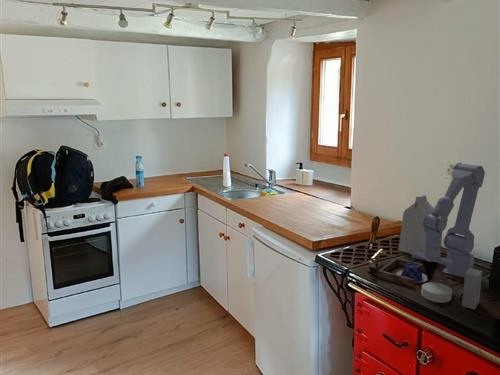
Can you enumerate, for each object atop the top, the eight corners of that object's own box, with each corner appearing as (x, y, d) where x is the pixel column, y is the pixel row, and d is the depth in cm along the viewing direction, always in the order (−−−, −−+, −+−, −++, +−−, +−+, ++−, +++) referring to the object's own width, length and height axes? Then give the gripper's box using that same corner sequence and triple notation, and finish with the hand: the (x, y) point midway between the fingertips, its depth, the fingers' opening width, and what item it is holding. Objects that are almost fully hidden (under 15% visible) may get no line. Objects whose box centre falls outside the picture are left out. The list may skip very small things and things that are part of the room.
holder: (429, 272, 174) (429, 265, 174) (412, 287, 161) (413, 280, 160) (395, 263, 183) (396, 257, 183) (377, 277, 170) (377, 270, 169)
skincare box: (465, 299, 151) (469, 267, 149) (479, 303, 148) (483, 270, 146) (461, 306, 146) (464, 273, 144) (475, 309, 144) (478, 276, 141)
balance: (378, 260, 187) (379, 246, 185) (387, 263, 184) (388, 248, 183) (364, 270, 177) (365, 254, 176) (374, 272, 174) (375, 257, 173)
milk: (412, 244, 207) (416, 191, 202) (435, 251, 198) (440, 196, 193) (398, 250, 200) (402, 195, 194) (421, 257, 191) (426, 200, 185)
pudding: (389, 275, 172) (389, 263, 171) (408, 269, 178) (409, 257, 177) (414, 287, 162) (415, 274, 161) (434, 279, 168) (435, 267, 167)
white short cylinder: (437, 305, 147) (438, 296, 147) (414, 293, 156) (415, 284, 155) (457, 299, 151) (458, 290, 151) (434, 288, 160) (435, 279, 160)
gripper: (409, 244, 164) (407, 277, 167) (449, 253, 155) (446, 288, 158) (416, 239, 170) (414, 271, 172) (455, 247, 160) (452, 281, 163)
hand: (429, 279), depth 165 cm, fingers closed
